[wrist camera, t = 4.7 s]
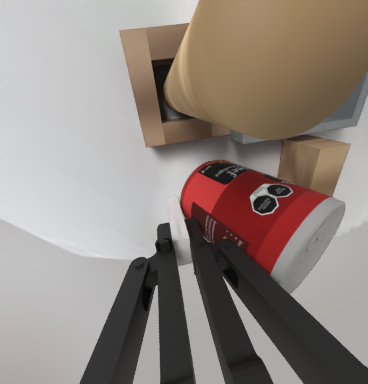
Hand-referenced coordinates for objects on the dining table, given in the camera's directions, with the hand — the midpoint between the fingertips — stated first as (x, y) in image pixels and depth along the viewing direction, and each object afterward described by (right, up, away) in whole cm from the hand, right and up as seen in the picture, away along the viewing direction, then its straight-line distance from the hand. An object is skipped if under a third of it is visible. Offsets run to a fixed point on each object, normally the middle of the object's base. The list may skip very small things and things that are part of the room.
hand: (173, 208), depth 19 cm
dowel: (+1, +11, -3) cm, 12 cm away
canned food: (+4, +2, +1) cm, 4 cm away
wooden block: (+15, +5, +3) cm, 16 cm away
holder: (+1, +11, -3) cm, 12 cm away
